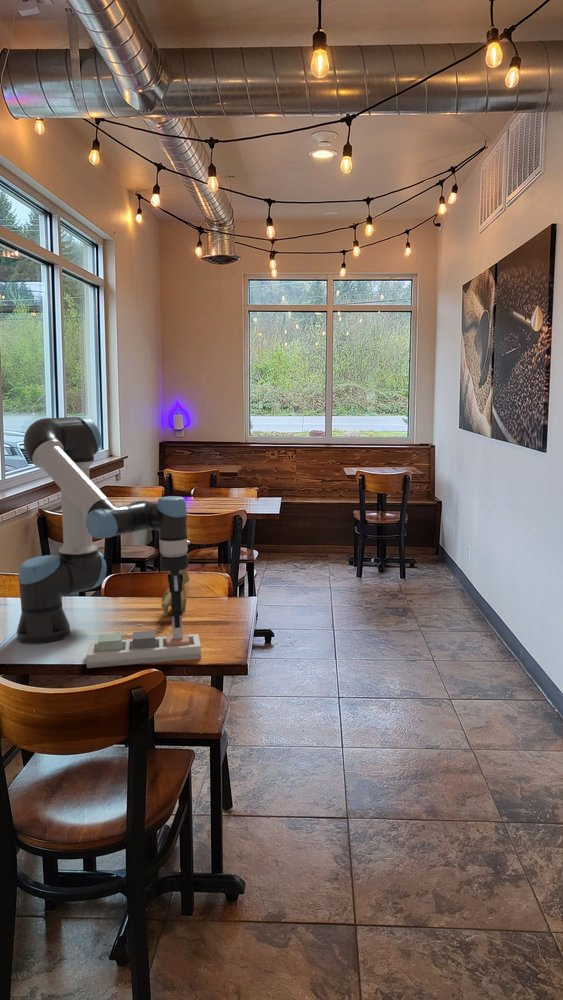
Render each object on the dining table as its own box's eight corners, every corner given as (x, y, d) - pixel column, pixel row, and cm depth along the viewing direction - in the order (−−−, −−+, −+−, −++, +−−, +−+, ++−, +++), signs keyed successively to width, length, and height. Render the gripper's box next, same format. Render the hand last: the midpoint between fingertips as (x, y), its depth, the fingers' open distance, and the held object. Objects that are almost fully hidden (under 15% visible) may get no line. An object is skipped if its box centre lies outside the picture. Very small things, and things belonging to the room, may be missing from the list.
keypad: (86, 668, 184) (86, 655, 183) (90, 654, 193) (89, 642, 193) (201, 658, 189) (200, 646, 188) (198, 645, 199) (198, 633, 198)
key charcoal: (132, 647, 187) (132, 639, 187) (133, 640, 193) (133, 632, 193) (155, 646, 188) (155, 637, 188) (155, 638, 194) (155, 630, 194)
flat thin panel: (147, 641, 203) (115, 631, 212) (147, 642, 203) (115, 632, 212) (170, 633, 209) (138, 623, 219) (170, 634, 210) (138, 625, 219)
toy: (193, 604, 239) (191, 561, 237) (175, 627, 215) (173, 580, 213) (172, 603, 240) (170, 561, 237) (152, 627, 216) (150, 579, 213)
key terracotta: (167, 651, 189) (166, 642, 189) (166, 643, 195) (166, 635, 194) (189, 649, 190) (189, 641, 190) (188, 642, 196) (187, 633, 196)
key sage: (98, 650, 185) (97, 642, 185) (99, 642, 191) (99, 634, 191) (121, 648, 187) (121, 640, 186) (122, 641, 192) (121, 632, 192)
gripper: (189, 558, 183) (192, 644, 186) (186, 548, 196) (190, 629, 199) (160, 560, 182) (164, 647, 185) (159, 549, 194) (163, 631, 198)
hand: (177, 637), depth 192 cm, fingers closed
